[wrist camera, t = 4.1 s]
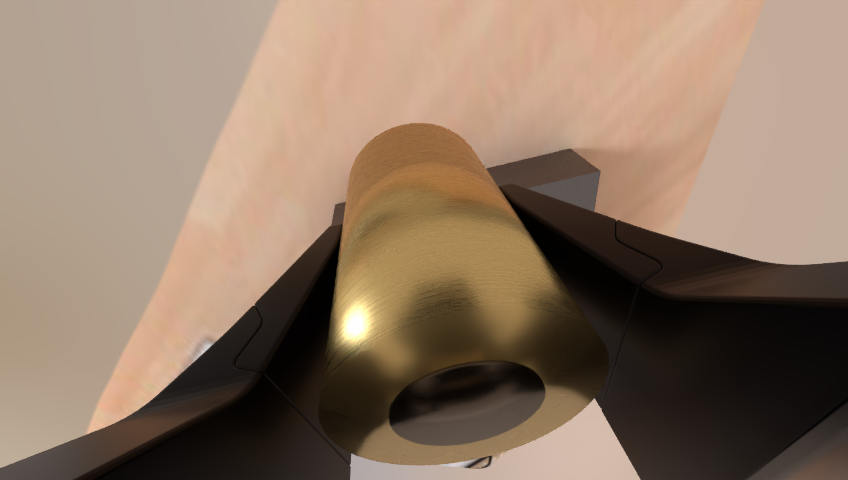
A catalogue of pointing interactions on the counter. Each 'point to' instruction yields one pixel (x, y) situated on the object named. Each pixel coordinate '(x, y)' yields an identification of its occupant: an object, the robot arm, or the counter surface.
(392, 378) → the bushing
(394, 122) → the counter surface
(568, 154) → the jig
